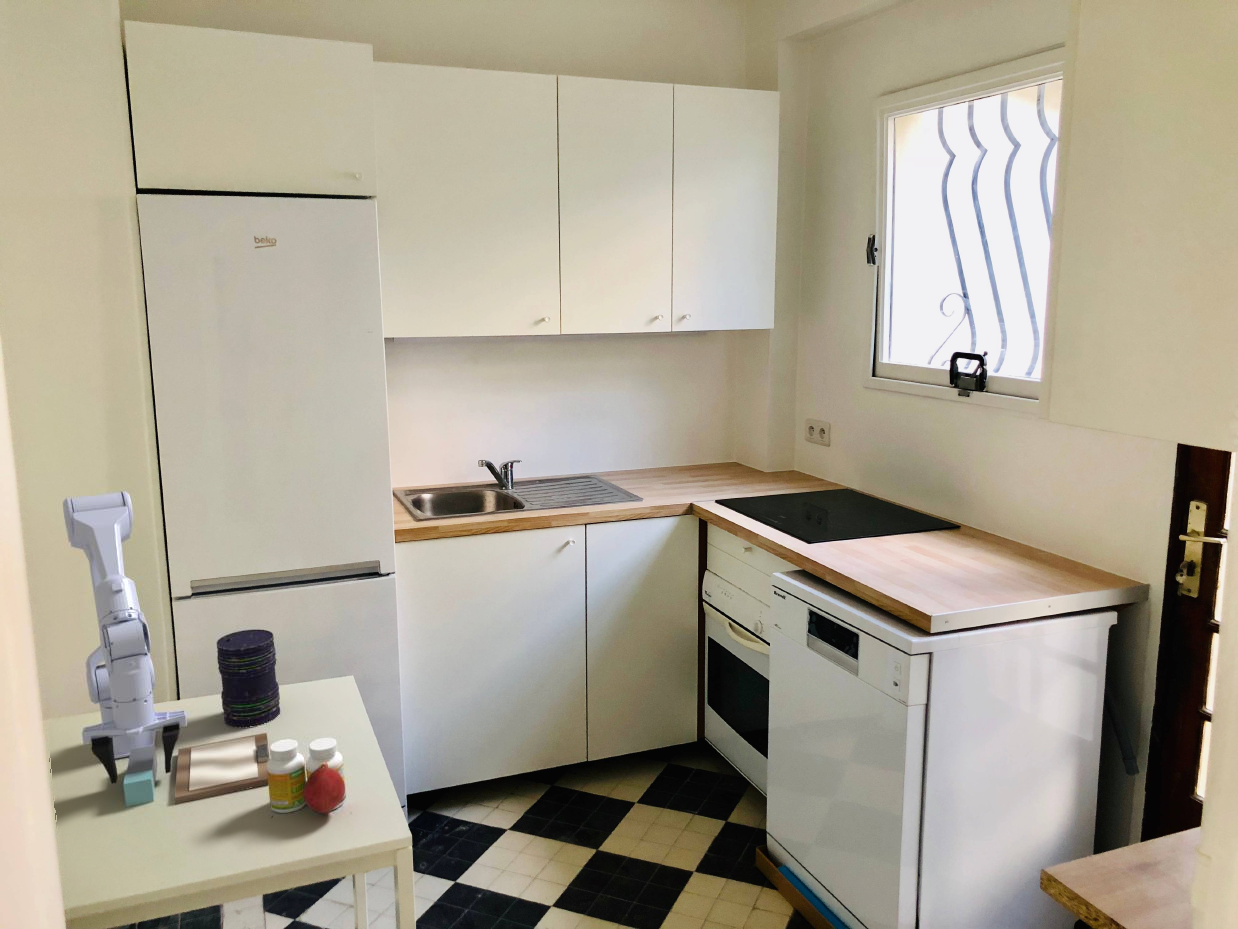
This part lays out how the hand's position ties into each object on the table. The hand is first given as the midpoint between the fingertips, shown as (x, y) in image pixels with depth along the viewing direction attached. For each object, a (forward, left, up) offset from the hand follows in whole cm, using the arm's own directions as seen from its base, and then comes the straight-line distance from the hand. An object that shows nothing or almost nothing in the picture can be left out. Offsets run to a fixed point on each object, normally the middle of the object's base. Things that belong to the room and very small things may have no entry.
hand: (141, 775), depth 150 cm
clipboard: (0, +12, -2) cm, 12 cm away
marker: (0, 0, -2) cm, 2 cm away
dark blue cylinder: (-19, +17, -2) cm, 26 cm away
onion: (+21, +26, -2) cm, 34 cm away
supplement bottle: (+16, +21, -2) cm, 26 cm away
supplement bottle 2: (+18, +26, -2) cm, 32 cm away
